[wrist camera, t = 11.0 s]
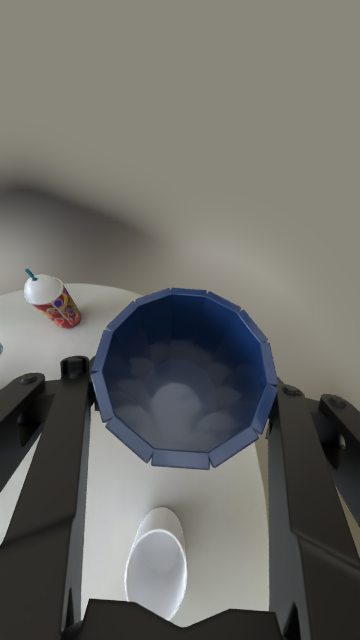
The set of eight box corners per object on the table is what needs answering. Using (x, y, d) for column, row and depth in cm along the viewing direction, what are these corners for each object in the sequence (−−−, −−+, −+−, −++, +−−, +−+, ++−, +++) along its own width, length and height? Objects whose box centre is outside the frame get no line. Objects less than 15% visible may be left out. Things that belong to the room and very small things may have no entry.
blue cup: (123, 377, 18) (76, 319, 9) (194, 346, 21) (214, 271, 11) (154, 469, 15) (127, 527, 5) (236, 419, 17) (317, 399, 8)
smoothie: (90, 319, 56) (56, 270, 39) (64, 337, 53) (14, 291, 36) (75, 304, 59) (37, 251, 42) (50, 320, 56) (-3, 269, 39)
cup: (180, 502, 36) (183, 524, 27) (188, 605, 30) (196, 675, 21) (136, 509, 35) (125, 533, 26) (135, 616, 29) (120, 693, 20)
